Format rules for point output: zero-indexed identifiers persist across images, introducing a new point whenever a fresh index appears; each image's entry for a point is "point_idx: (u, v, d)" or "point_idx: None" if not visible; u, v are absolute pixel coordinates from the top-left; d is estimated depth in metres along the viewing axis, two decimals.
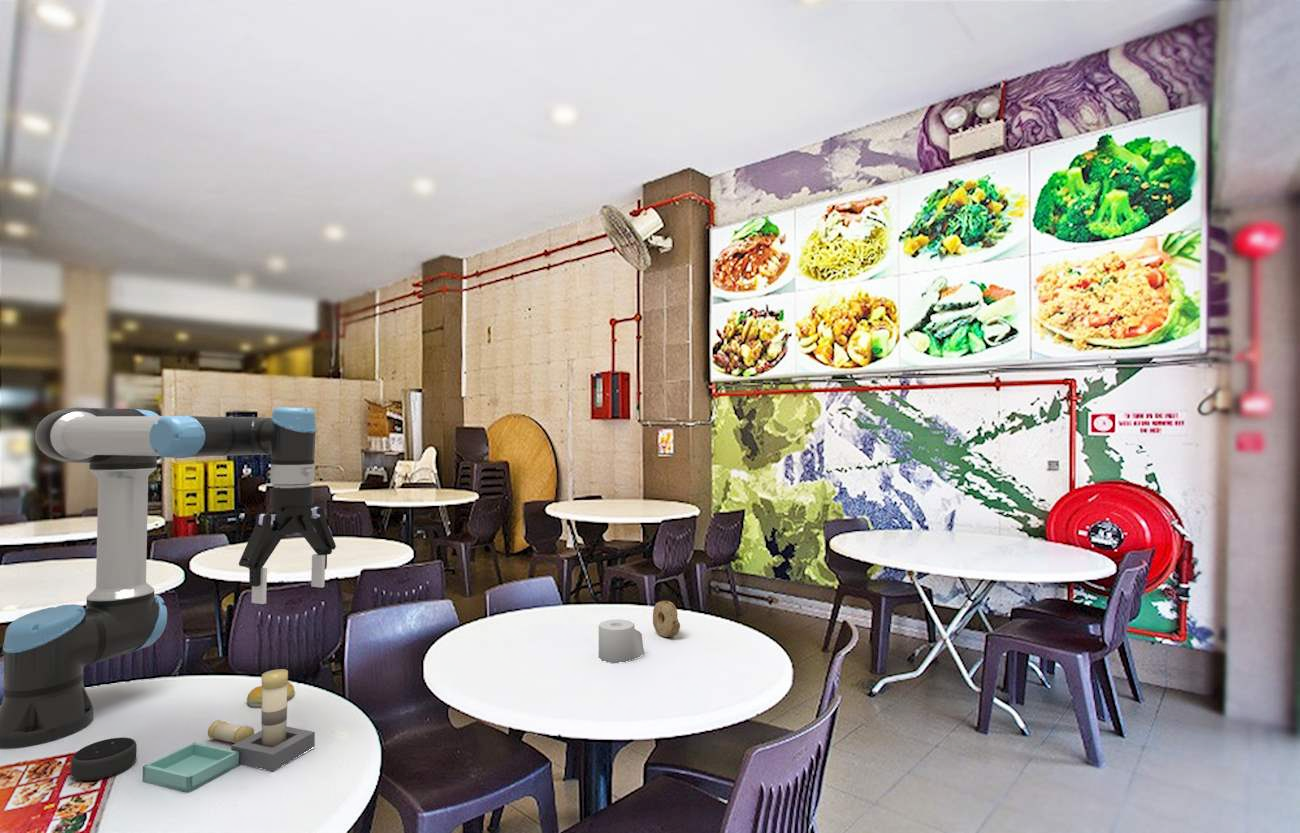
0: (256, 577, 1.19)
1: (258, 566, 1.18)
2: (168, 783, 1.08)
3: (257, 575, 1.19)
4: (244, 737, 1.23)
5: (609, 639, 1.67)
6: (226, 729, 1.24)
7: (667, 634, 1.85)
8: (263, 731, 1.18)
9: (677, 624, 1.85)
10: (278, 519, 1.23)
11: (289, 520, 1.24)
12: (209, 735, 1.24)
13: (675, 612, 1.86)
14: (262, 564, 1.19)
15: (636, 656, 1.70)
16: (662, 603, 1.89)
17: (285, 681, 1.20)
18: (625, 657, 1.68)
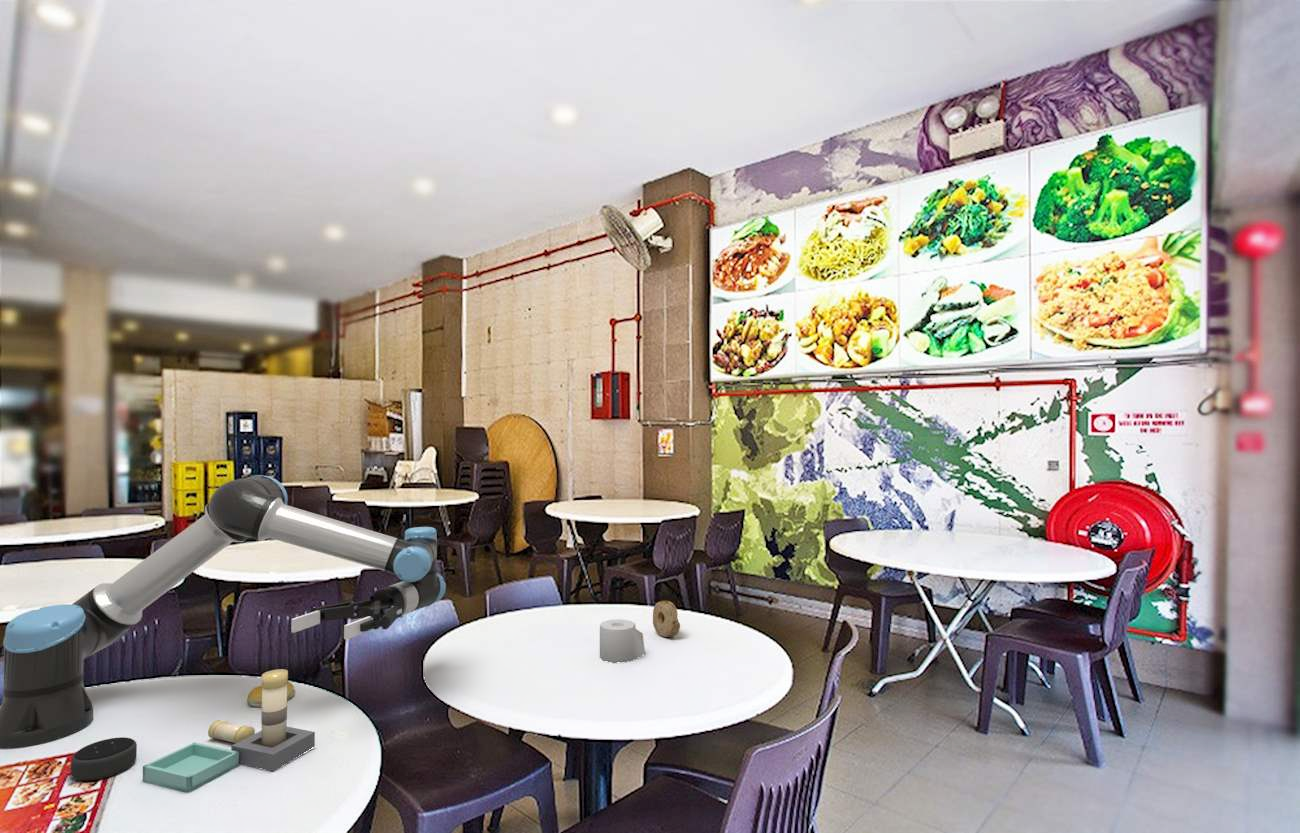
0: None
1: (377, 628, 1.33)
2: (168, 783, 1.08)
3: None
4: (244, 737, 1.23)
5: (610, 639, 1.67)
6: (227, 728, 1.24)
7: (667, 634, 1.85)
8: (263, 731, 1.18)
9: (677, 624, 1.85)
10: None
11: None
12: (209, 734, 1.25)
13: (675, 612, 1.86)
14: None
15: (637, 656, 1.70)
16: (662, 603, 1.89)
17: (285, 681, 1.20)
18: (626, 657, 1.68)
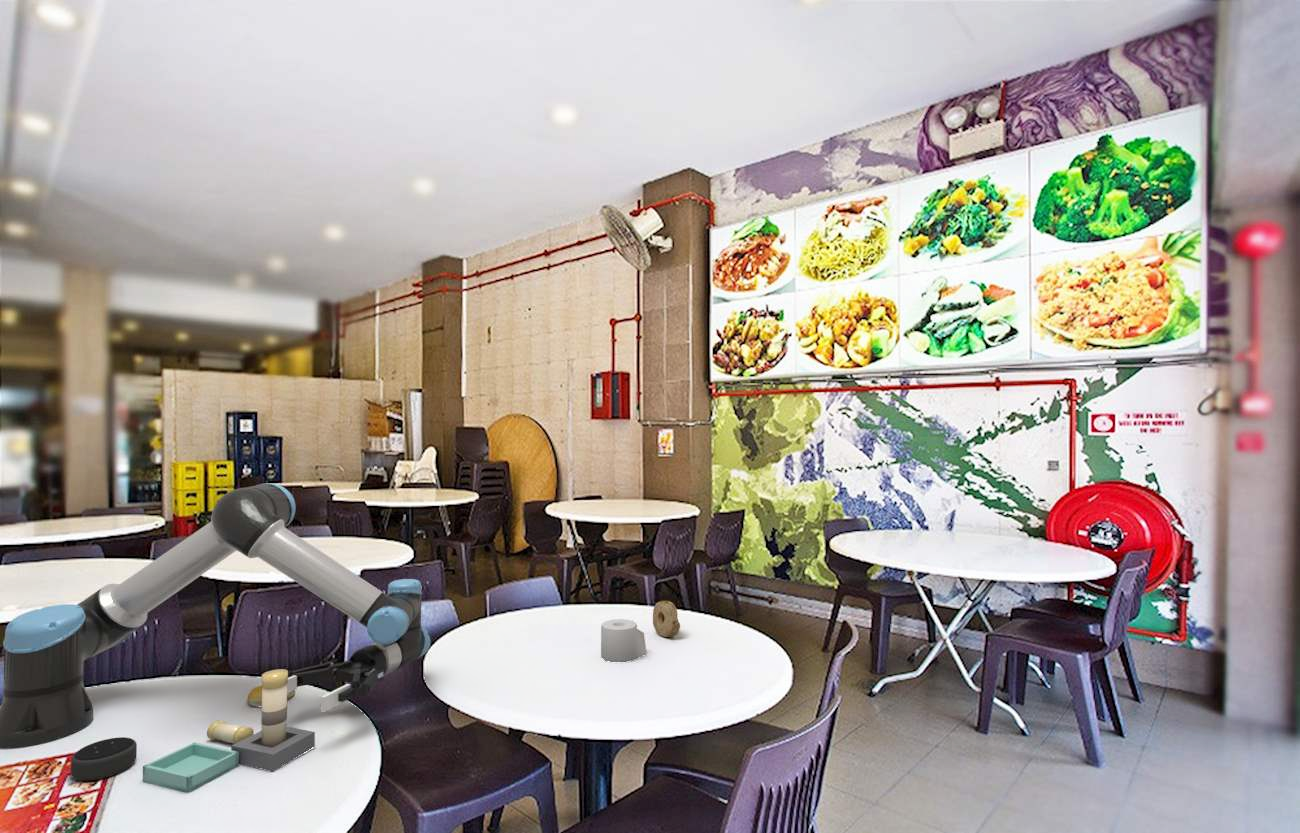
0: None
1: (356, 696, 1.27)
2: (168, 783, 1.08)
3: None
4: (243, 737, 1.23)
5: (612, 639, 1.67)
6: (225, 730, 1.24)
7: (667, 634, 1.85)
8: (263, 731, 1.18)
9: (677, 624, 1.85)
10: None
11: (360, 680, 1.36)
12: (209, 736, 1.24)
13: (675, 612, 1.86)
14: None
15: (638, 656, 1.70)
16: (662, 603, 1.89)
17: (285, 681, 1.20)
18: (628, 657, 1.68)
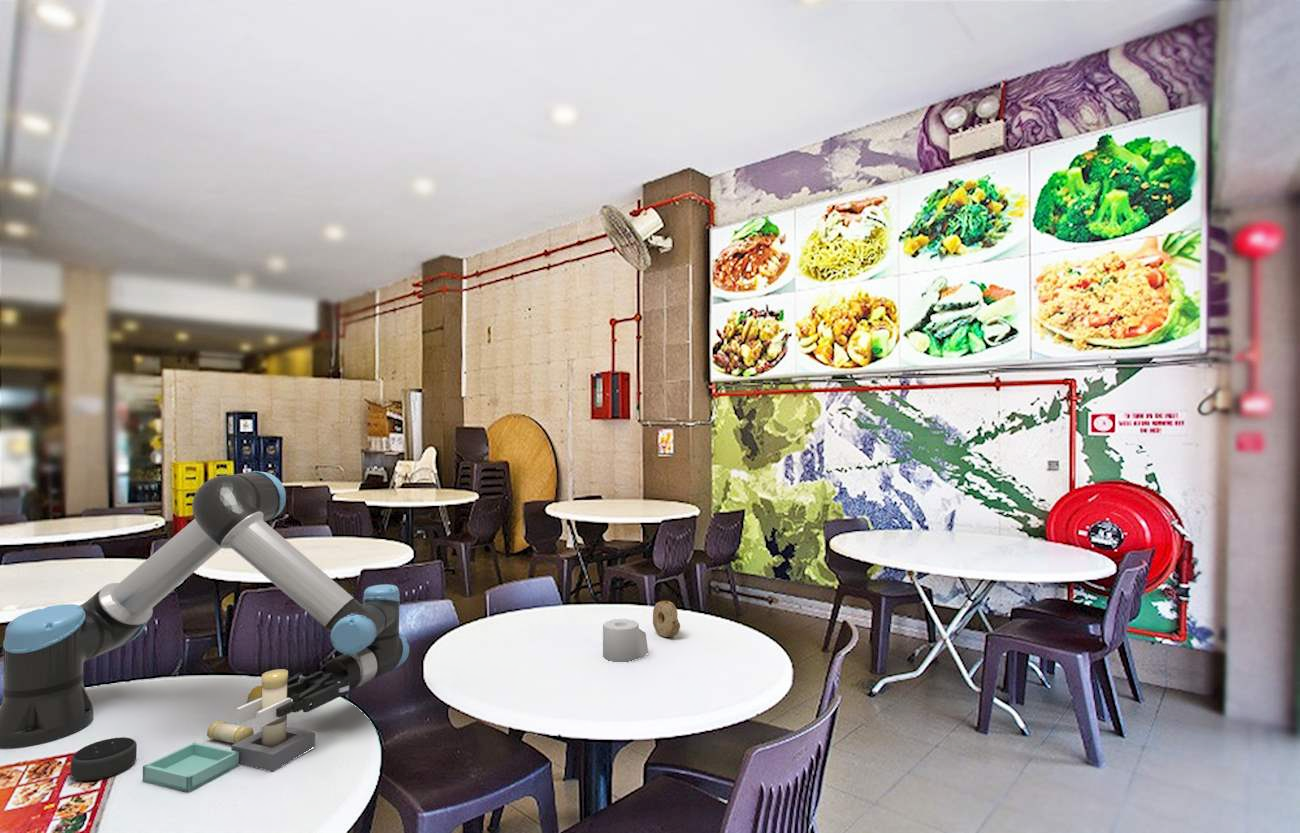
0: None
1: None
2: (168, 783, 1.08)
3: None
4: (244, 737, 1.23)
5: (614, 639, 1.67)
6: (225, 730, 1.24)
7: (667, 634, 1.85)
8: (263, 731, 1.18)
9: (677, 624, 1.85)
10: None
11: None
12: (209, 736, 1.24)
13: (675, 612, 1.86)
14: None
15: (640, 656, 1.71)
16: (662, 603, 1.89)
17: (285, 681, 1.20)
18: (629, 657, 1.68)
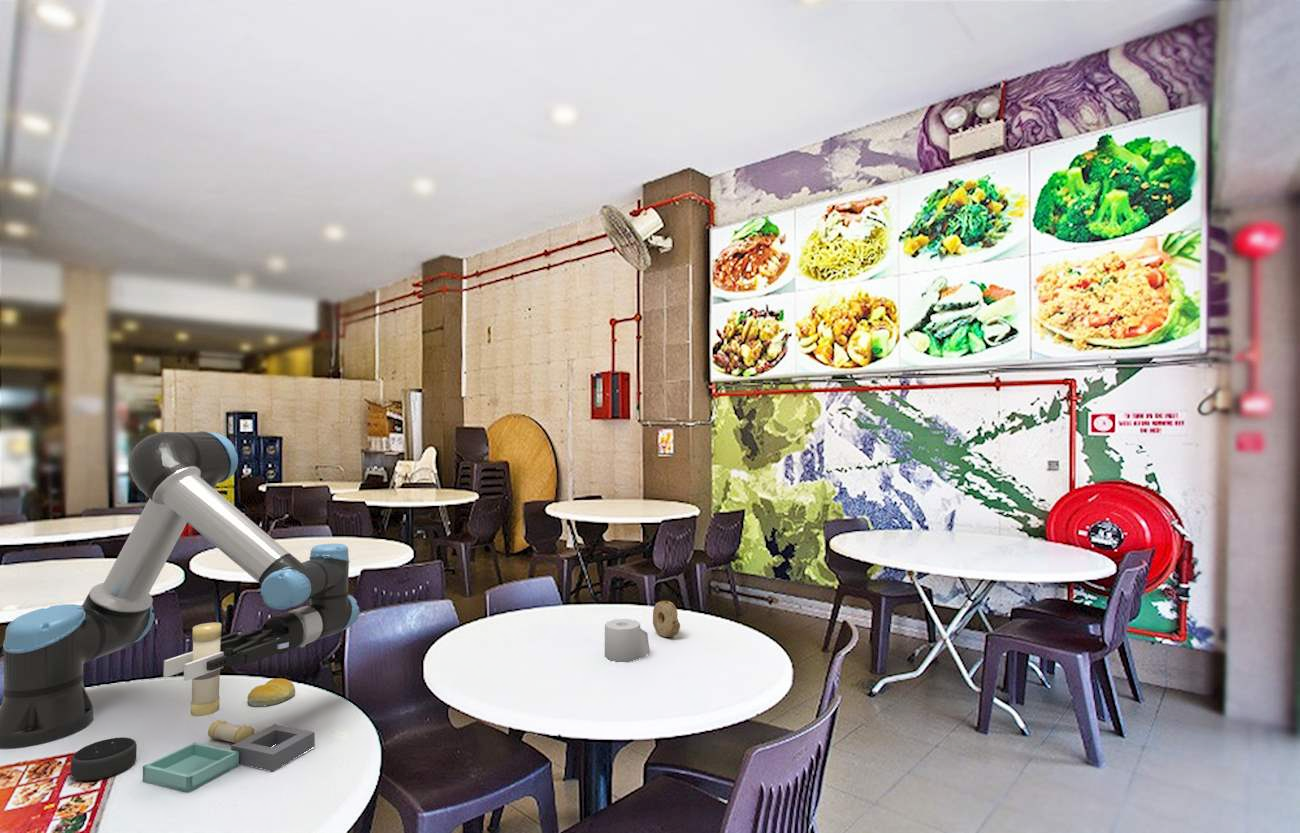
0: None
1: (229, 666, 1.14)
2: (168, 783, 1.08)
3: None
4: (244, 737, 1.23)
5: (615, 639, 1.68)
6: (227, 728, 1.24)
7: (667, 634, 1.85)
8: (193, 686, 1.12)
9: (677, 624, 1.85)
10: None
11: None
12: (209, 734, 1.25)
13: (675, 612, 1.86)
14: None
15: (642, 655, 1.71)
16: (662, 603, 1.89)
17: (218, 634, 1.14)
18: (631, 657, 1.68)
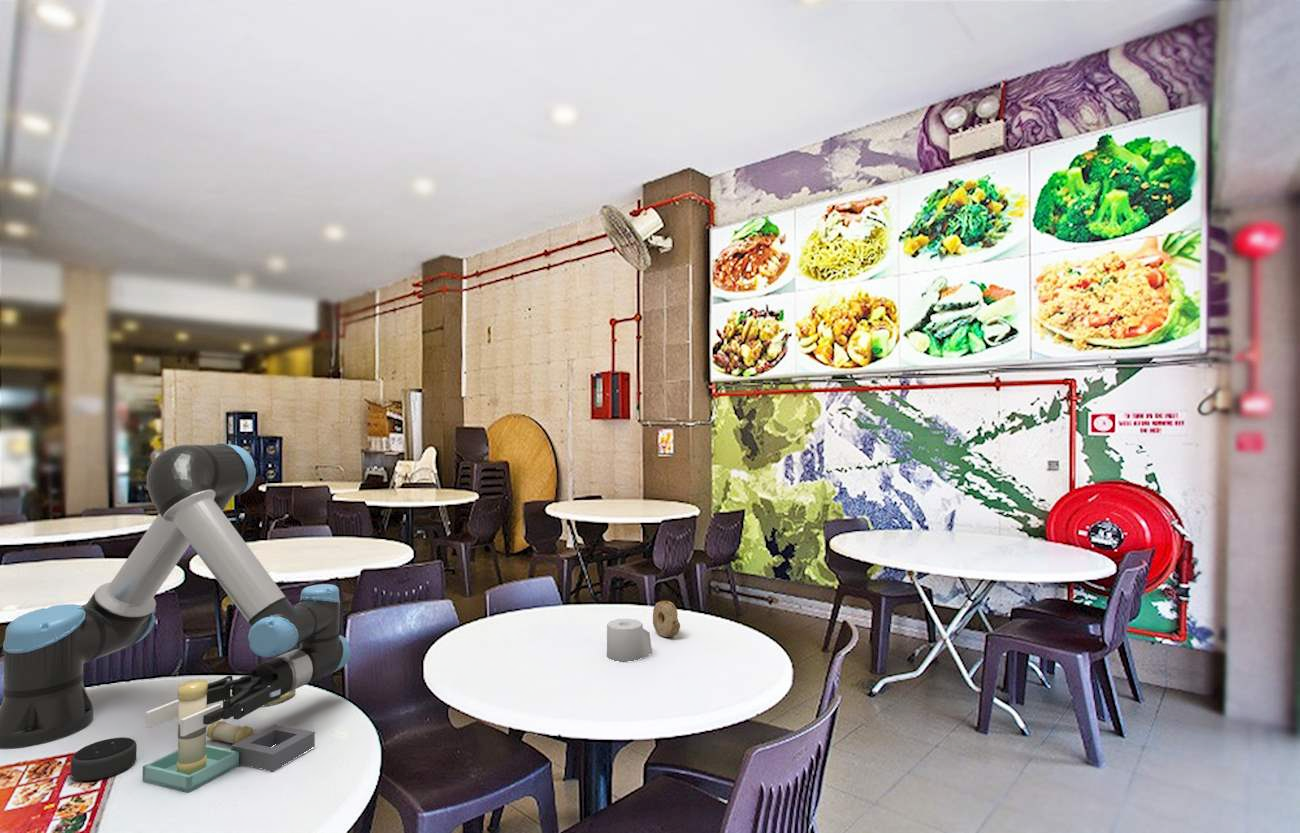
0: None
1: (227, 718, 1.13)
2: (168, 783, 1.08)
3: None
4: (243, 738, 1.23)
5: (618, 639, 1.68)
6: (225, 730, 1.24)
7: (667, 634, 1.85)
8: (179, 745, 1.11)
9: (677, 624, 1.85)
10: None
11: None
12: (208, 736, 1.24)
13: (675, 612, 1.86)
14: None
15: (644, 655, 1.71)
16: (662, 603, 1.89)
17: (204, 692, 1.13)
18: (634, 656, 1.68)
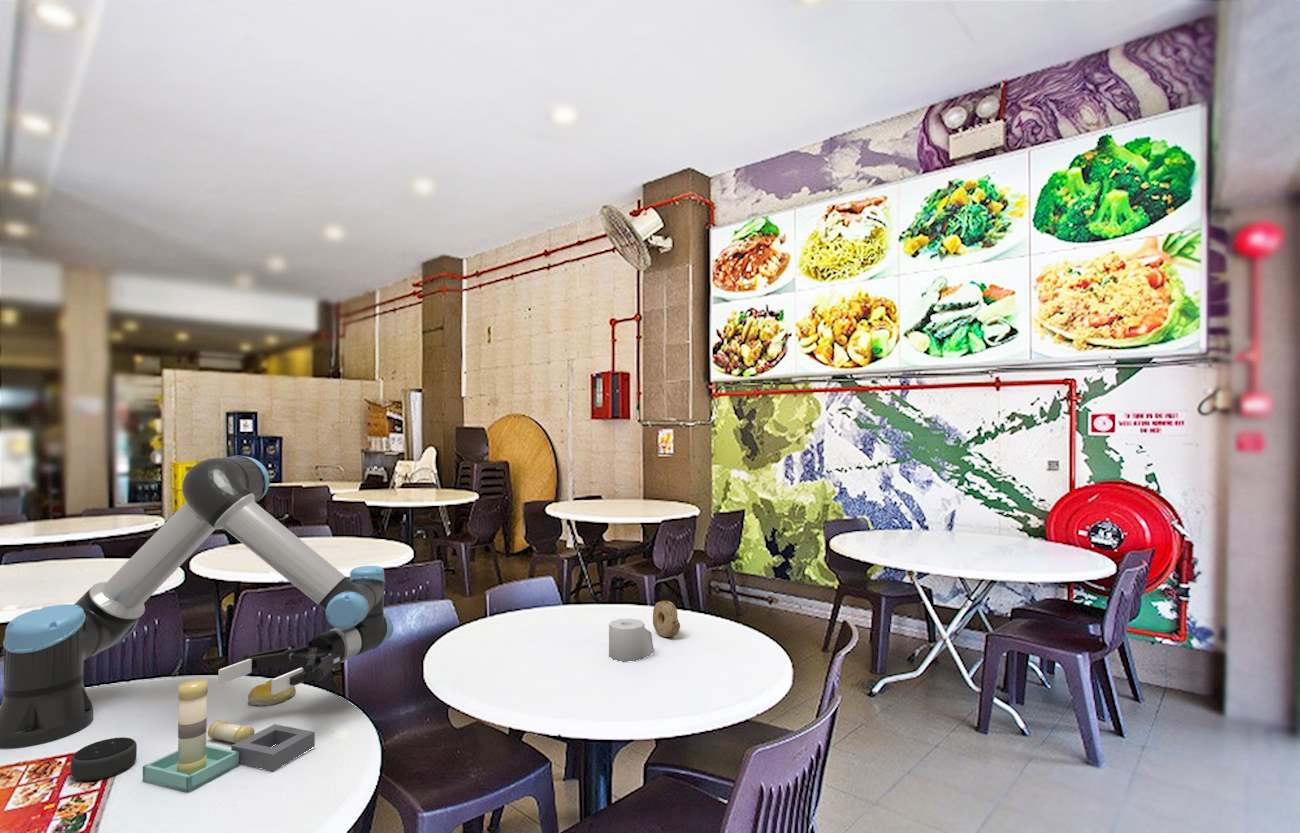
0: None
1: None
2: (168, 783, 1.08)
3: None
4: (244, 737, 1.23)
5: (620, 638, 1.68)
6: (227, 729, 1.24)
7: (667, 634, 1.85)
8: (179, 745, 1.11)
9: (677, 624, 1.85)
10: None
11: None
12: (209, 735, 1.24)
13: (675, 612, 1.86)
14: None
15: (646, 655, 1.71)
16: (662, 603, 1.89)
17: (204, 692, 1.13)
18: (635, 656, 1.68)
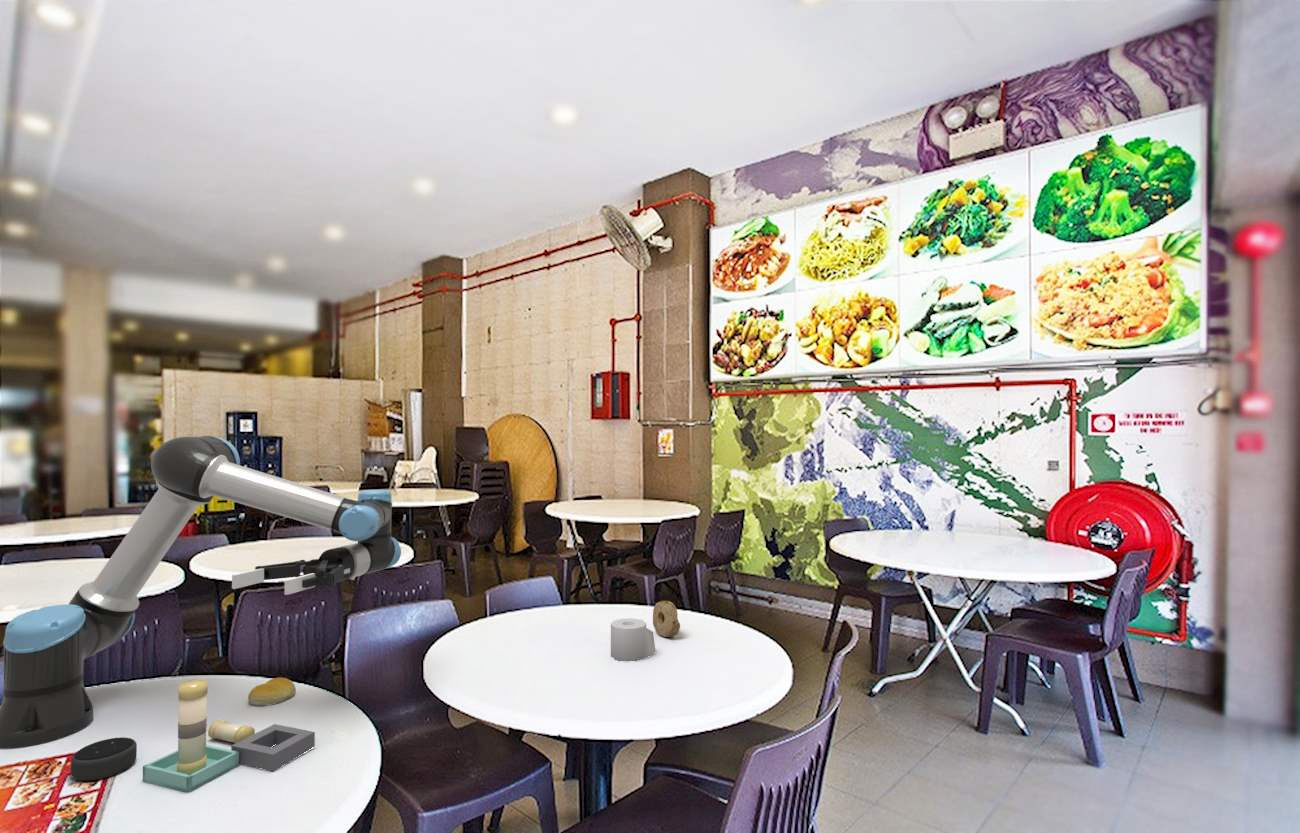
0: (312, 585, 1.28)
1: None
2: (168, 783, 1.08)
3: None
4: (244, 737, 1.23)
5: (622, 638, 1.68)
6: (227, 728, 1.24)
7: (667, 634, 1.85)
8: (179, 745, 1.11)
9: (677, 624, 1.85)
10: None
11: None
12: (209, 734, 1.25)
13: (675, 612, 1.86)
14: None
15: (648, 655, 1.71)
16: (662, 603, 1.89)
17: (204, 692, 1.13)
18: (637, 656, 1.68)
